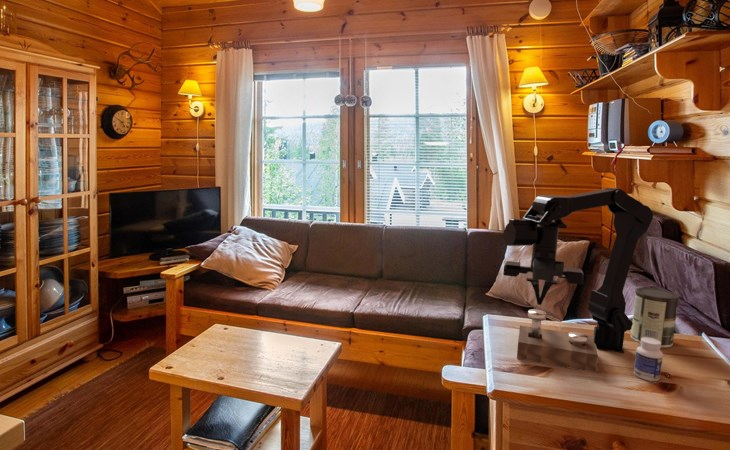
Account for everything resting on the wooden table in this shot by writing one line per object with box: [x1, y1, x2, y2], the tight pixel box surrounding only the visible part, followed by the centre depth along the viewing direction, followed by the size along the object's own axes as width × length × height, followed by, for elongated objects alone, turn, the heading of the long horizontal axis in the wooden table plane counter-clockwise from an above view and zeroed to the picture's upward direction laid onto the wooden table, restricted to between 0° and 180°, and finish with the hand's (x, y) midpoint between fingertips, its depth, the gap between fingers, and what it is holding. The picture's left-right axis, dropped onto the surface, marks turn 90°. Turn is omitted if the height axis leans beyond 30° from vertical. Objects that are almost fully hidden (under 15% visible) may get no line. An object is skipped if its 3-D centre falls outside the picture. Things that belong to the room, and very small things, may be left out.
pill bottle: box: [633, 337, 664, 382], centre depth 102 cm, size 5×5×9 cm
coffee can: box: [630, 287, 680, 348], centre depth 122 cm, size 10×10×14 cm
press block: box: [516, 325, 599, 373], centre depth 112 cm, size 18×12×4 cm, turn 68°
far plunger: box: [527, 308, 547, 337], centre depth 113 cm, size 4×4×6 cm
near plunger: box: [568, 331, 589, 345], centre depth 110 cm, size 4×4×6 cm
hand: (539, 304), depth 112 cm, fingers closed
